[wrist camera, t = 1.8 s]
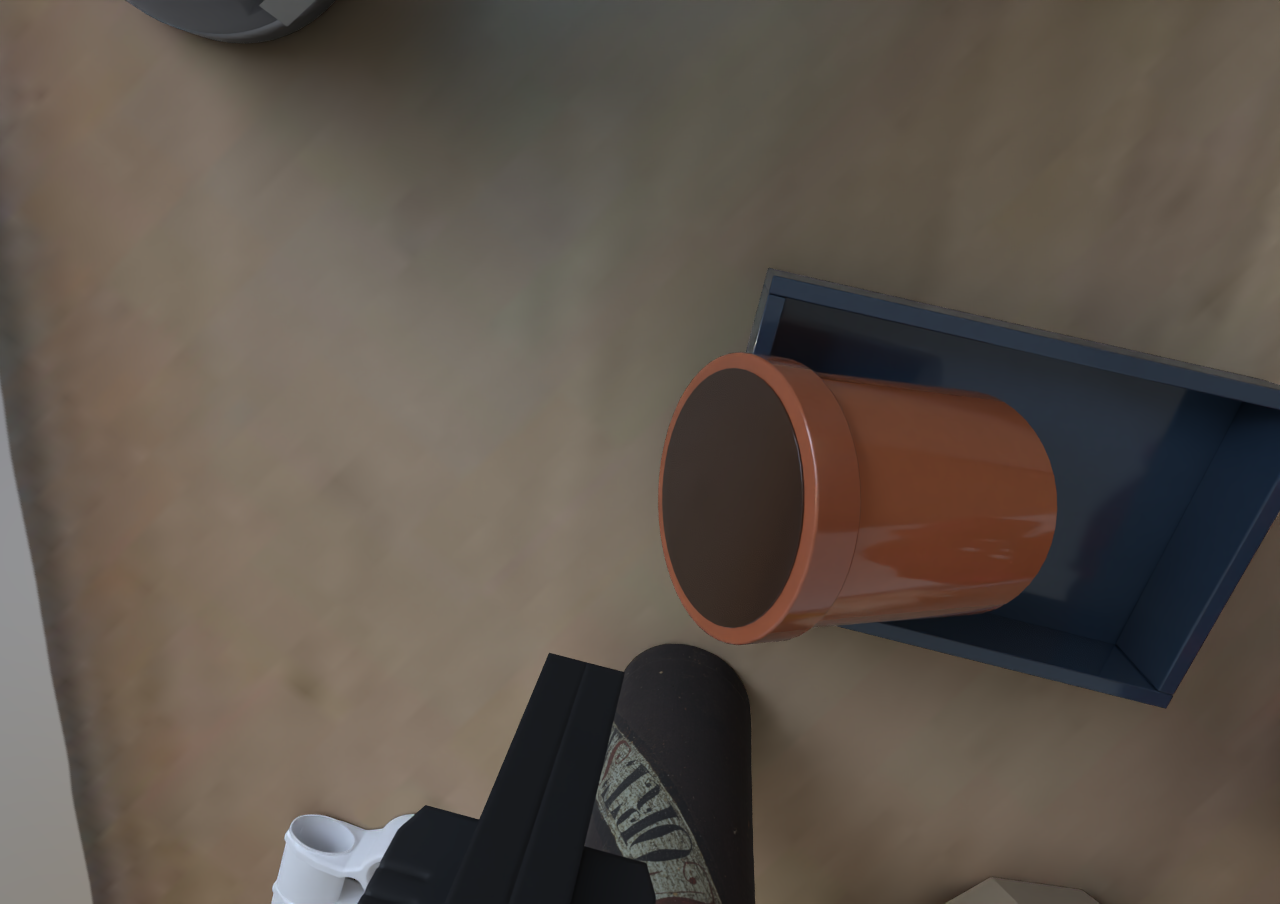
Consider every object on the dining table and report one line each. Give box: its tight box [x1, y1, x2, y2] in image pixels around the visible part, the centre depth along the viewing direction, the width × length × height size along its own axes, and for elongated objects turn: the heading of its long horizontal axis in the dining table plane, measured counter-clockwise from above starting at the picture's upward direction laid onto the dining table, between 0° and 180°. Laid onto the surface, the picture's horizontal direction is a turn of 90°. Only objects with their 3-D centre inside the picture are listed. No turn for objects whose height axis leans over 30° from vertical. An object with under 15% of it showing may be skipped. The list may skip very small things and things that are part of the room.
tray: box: [746, 268, 1280, 708], centre depth 34 cm, size 16×24×5 cm, turn 78°
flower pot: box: [658, 352, 1057, 645], centre depth 29 cm, size 11×16×15 cm
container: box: [585, 644, 755, 904], centre depth 33 cm, size 9×9×20 cm
